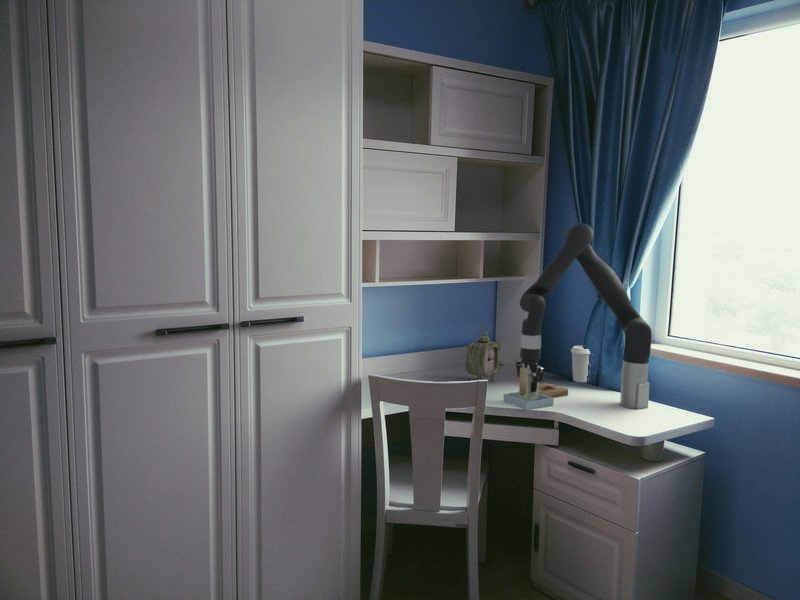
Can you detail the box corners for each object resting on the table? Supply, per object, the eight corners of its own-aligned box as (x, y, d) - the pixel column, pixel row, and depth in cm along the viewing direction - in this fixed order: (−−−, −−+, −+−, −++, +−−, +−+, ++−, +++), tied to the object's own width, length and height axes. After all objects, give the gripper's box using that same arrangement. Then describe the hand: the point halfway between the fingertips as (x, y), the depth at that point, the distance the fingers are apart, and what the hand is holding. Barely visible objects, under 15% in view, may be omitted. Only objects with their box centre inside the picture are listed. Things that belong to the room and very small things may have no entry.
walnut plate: (567, 395, 251) (568, 389, 251) (541, 399, 244) (542, 393, 244) (546, 388, 261) (547, 382, 261) (521, 392, 254) (521, 386, 254)
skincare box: (531, 396, 241) (532, 365, 240) (538, 399, 237) (540, 367, 236) (518, 398, 238) (519, 367, 237) (525, 401, 234) (526, 369, 233)
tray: (553, 405, 235) (553, 398, 235) (526, 410, 229) (526, 402, 228) (529, 397, 247) (529, 390, 246) (503, 401, 240) (503, 393, 240)
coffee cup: (591, 379, 280) (593, 346, 278) (591, 384, 271) (593, 350, 269) (569, 377, 283) (571, 344, 281) (568, 381, 274) (570, 348, 272)
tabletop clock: (481, 387, 262) (484, 328, 259) (463, 383, 267) (465, 325, 265) (499, 381, 273) (501, 324, 270) (481, 377, 279) (483, 322, 276)
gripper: (551, 348, 231) (549, 393, 233) (525, 342, 243) (523, 385, 245) (536, 350, 227) (534, 396, 229) (510, 343, 240) (508, 387, 241)
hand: (528, 390), depth 237 cm, fingers closed on skincare box, 4 cm apart
